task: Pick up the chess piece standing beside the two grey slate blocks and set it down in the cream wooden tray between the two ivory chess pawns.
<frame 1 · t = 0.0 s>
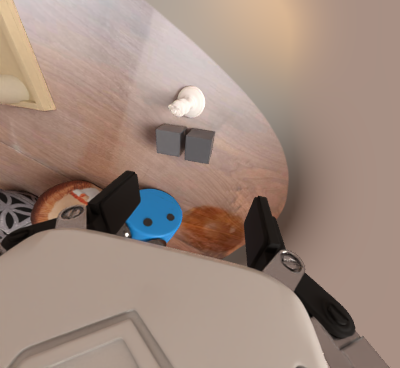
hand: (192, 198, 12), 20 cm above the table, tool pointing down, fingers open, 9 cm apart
pawn tray: (1, 42, 27), on the table
chess piece: (191, 102, 27), on the table
slate blocks: (188, 138, 30), on the table
teapot: (38, 207, 55), on the table
figurine: (96, 194, 45), on the table
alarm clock: (163, 198, 41), on the table
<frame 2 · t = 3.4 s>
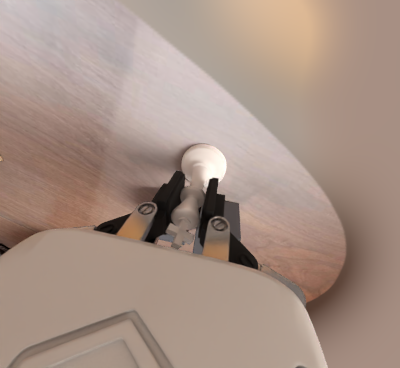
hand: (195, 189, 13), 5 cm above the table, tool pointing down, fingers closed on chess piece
chess piece: (204, 164, 17), on the table, touching gripper
slate blocks: (197, 208, 20), on the table
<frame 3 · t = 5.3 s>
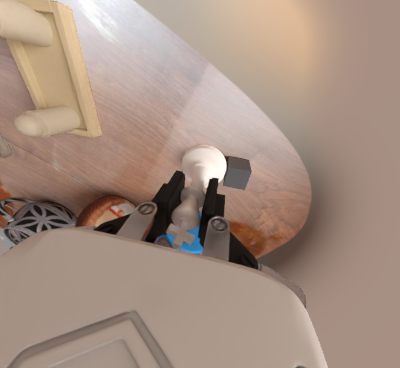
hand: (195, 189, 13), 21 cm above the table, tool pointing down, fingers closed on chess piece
pawn tray: (62, 79, 30), on the table
chess piece: (204, 165, 17), point 16 cm above the table, touching gripper
slate blocks: (223, 164, 34), on the table
teapot: (64, 217, 57), on the table
figurine: (125, 207, 48), on the table
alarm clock: (190, 213, 44), on the table
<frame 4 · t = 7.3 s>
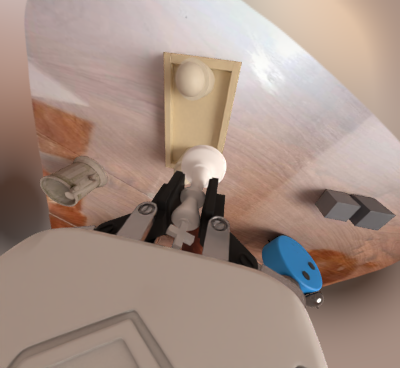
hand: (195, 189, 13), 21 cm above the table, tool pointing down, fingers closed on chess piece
pawn tray: (197, 123, 30), on the table
chess piece: (204, 165, 17), point 16 cm above the table, touching gripper
slate blocks: (343, 201, 34), on the table
figurine: (211, 233, 48), on the table
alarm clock: (282, 240, 45), on the table
mug: (97, 170, 42), on the table
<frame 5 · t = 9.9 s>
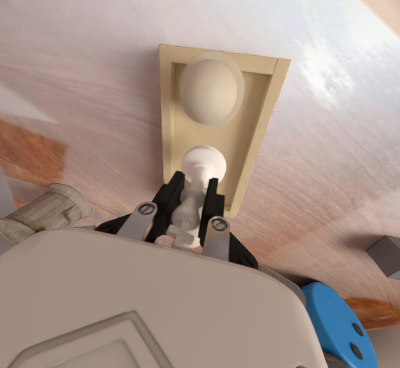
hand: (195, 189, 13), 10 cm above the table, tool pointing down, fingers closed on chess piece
pawn tray: (209, 148, 21), on the table
chess piece: (203, 165, 17), point 5 cm above the table, touching gripper
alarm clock: (312, 285, 35), on the table
mug: (78, 200, 33), on the table
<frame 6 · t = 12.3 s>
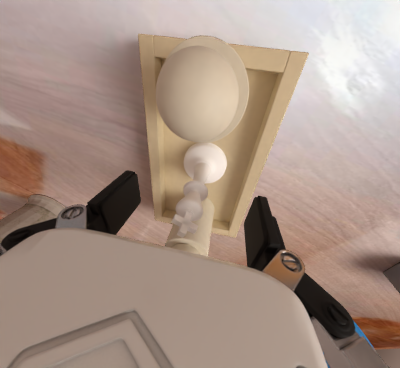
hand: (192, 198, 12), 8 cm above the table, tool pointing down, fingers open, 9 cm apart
pawn tray: (205, 159, 18), on the table
chess piece: (205, 162, 17), point 1 cm above the table, touching pawn tray
mug: (62, 212, 30), on the table
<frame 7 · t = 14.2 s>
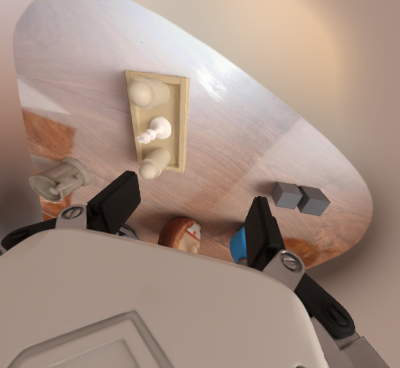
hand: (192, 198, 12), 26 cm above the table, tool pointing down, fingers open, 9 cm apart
pawn tray: (162, 127, 35), on the table
chess piece: (161, 127, 35), point 1 cm above the table, touching pawn tray
slate blocks: (294, 192, 39), on the table
figurine: (188, 226, 53), on the table
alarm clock: (251, 230, 49), on the table
mug: (82, 170, 47), on the table
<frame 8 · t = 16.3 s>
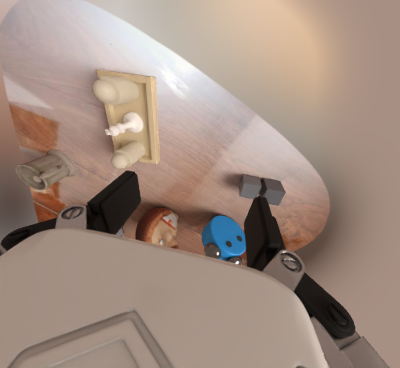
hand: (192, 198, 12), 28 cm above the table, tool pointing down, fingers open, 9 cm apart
pawn tray: (135, 121, 38), on the table
chess piece: (134, 122, 38), point 1 cm above the table, touching pawn tray
slate blocks: (258, 184, 42), on the table
figurine: (167, 216, 57), on the table
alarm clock: (224, 221, 53), on the table
mug: (67, 162, 51), on the table
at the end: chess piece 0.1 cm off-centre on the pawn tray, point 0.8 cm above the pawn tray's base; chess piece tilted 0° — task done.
